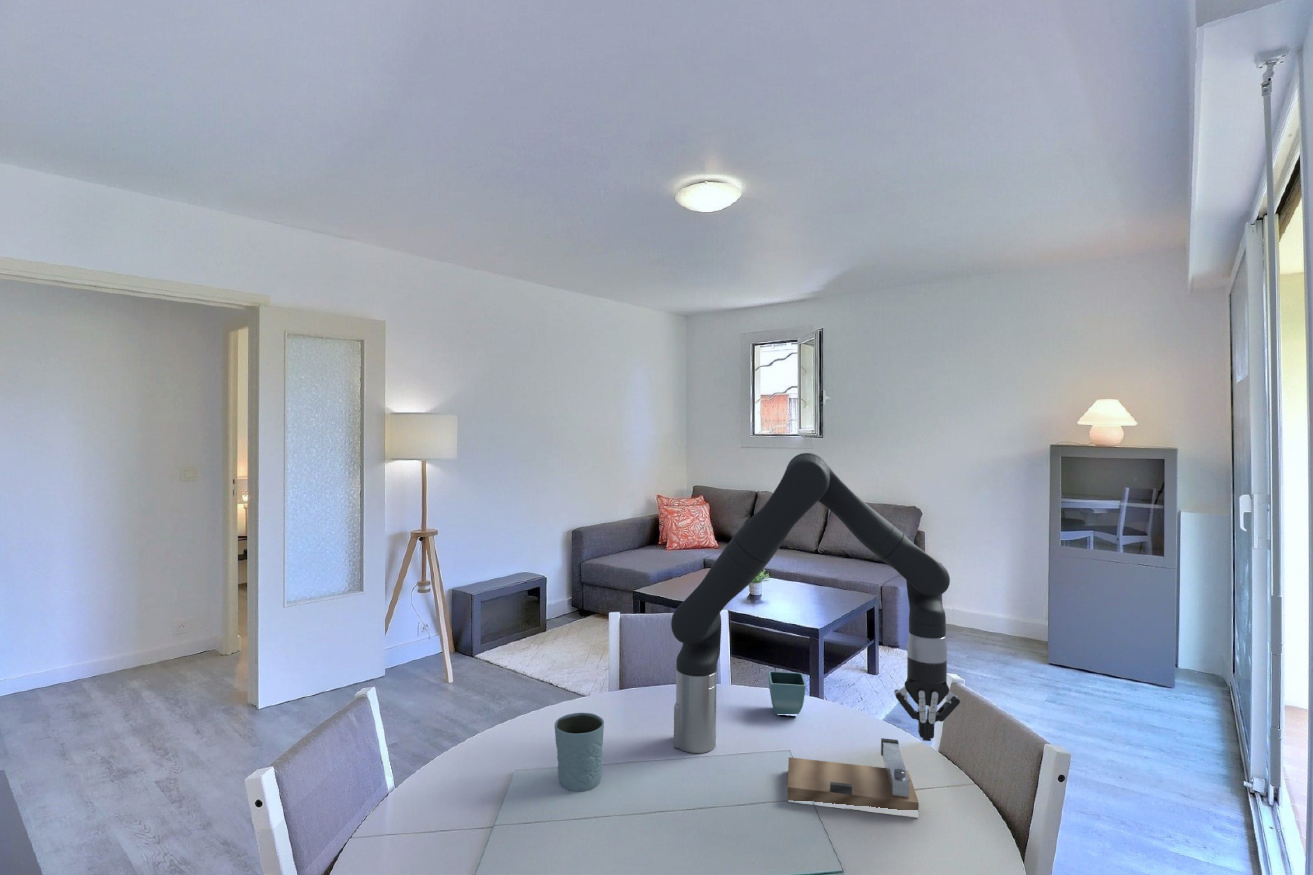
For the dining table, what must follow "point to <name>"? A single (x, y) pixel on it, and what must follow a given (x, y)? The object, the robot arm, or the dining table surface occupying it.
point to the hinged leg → (895, 768)
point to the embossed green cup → (579, 751)
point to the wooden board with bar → (845, 785)
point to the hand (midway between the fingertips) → (926, 739)
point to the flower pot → (787, 692)
